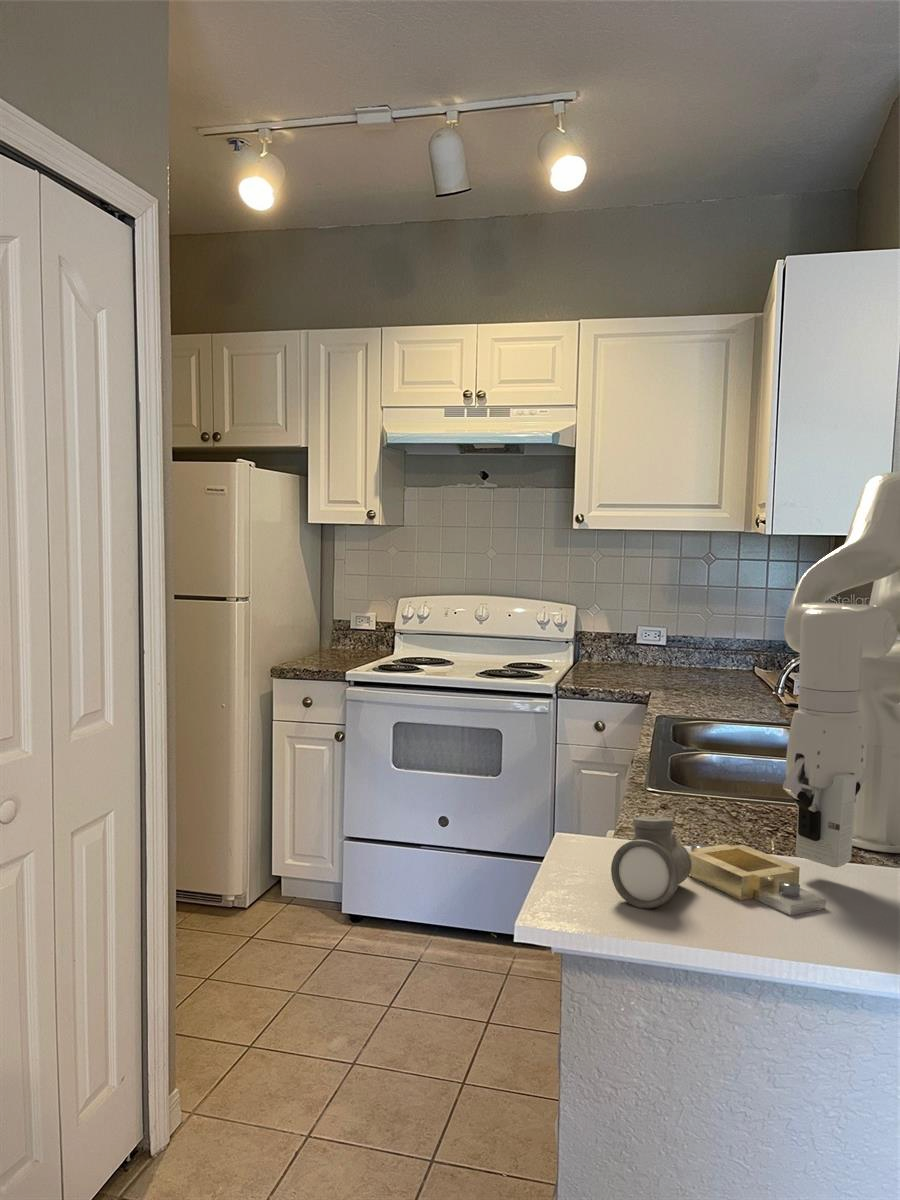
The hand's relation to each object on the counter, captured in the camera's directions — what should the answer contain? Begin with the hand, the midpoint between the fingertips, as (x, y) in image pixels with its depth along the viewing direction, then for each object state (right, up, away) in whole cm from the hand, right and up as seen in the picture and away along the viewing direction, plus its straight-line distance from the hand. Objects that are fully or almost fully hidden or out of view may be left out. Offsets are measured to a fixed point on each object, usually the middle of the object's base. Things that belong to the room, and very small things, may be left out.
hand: (824, 833), depth 118 cm
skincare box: (0, -4, 0) cm, 4 cm away
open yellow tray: (-12, -6, -1) cm, 13 cm away
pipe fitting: (-24, -6, -7) cm, 26 cm away
